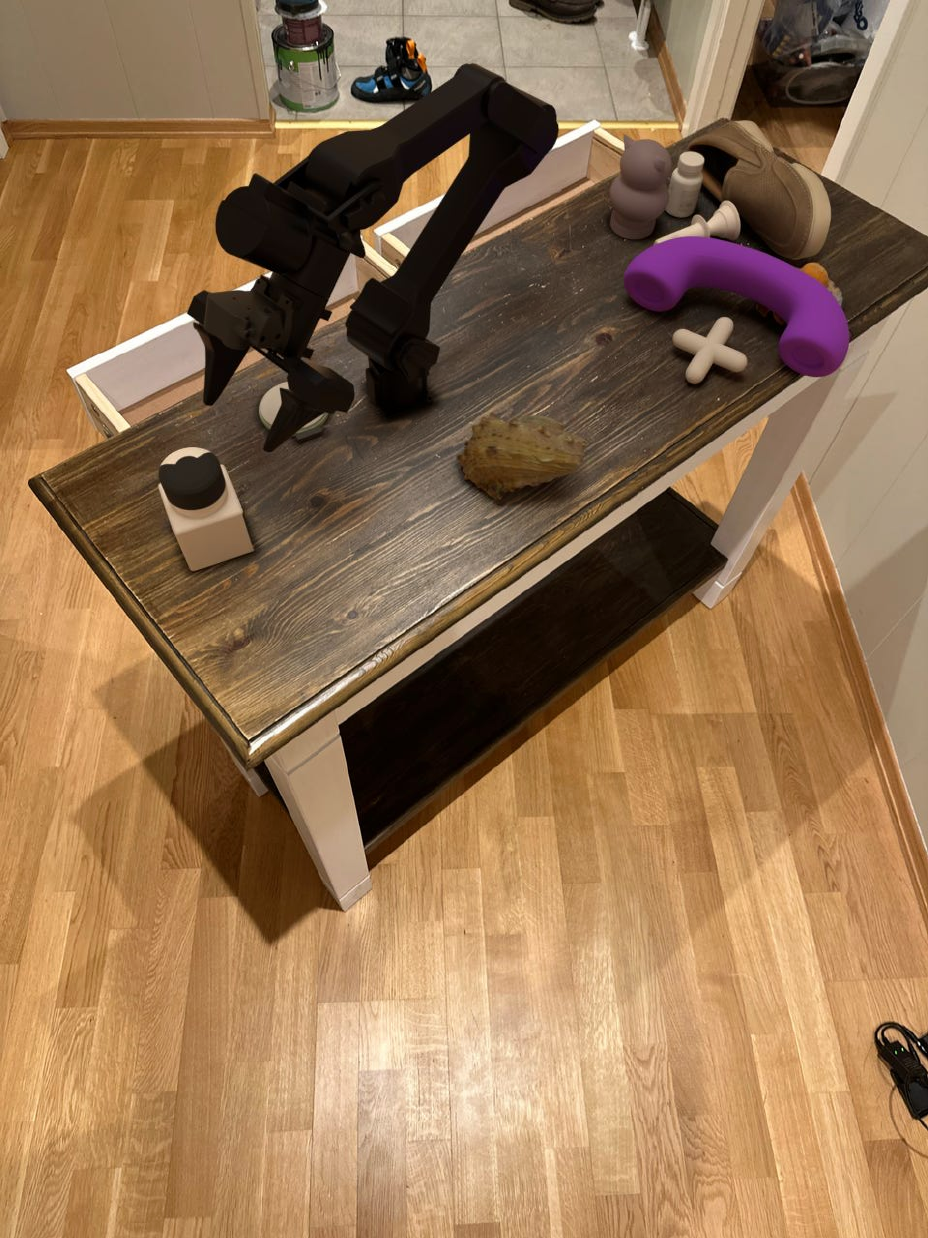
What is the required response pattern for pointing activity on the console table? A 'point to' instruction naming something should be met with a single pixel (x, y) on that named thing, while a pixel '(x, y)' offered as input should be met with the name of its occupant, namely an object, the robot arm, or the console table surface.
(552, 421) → the seashell
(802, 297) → the purple telephone handset
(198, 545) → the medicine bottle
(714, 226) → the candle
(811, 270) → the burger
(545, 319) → the console table surface
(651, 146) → the cat figurine
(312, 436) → the scale
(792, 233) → the slip on shoe
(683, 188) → the pill bottle
